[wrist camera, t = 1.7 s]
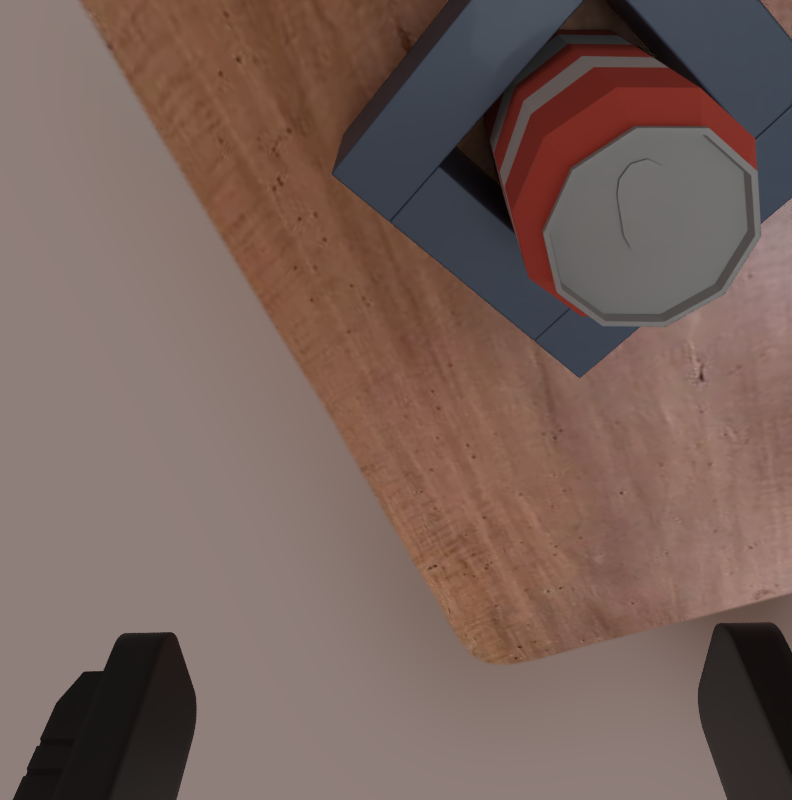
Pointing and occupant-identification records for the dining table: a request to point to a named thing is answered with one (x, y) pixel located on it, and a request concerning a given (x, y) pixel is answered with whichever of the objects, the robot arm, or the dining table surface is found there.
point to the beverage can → (623, 181)
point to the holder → (484, 83)
